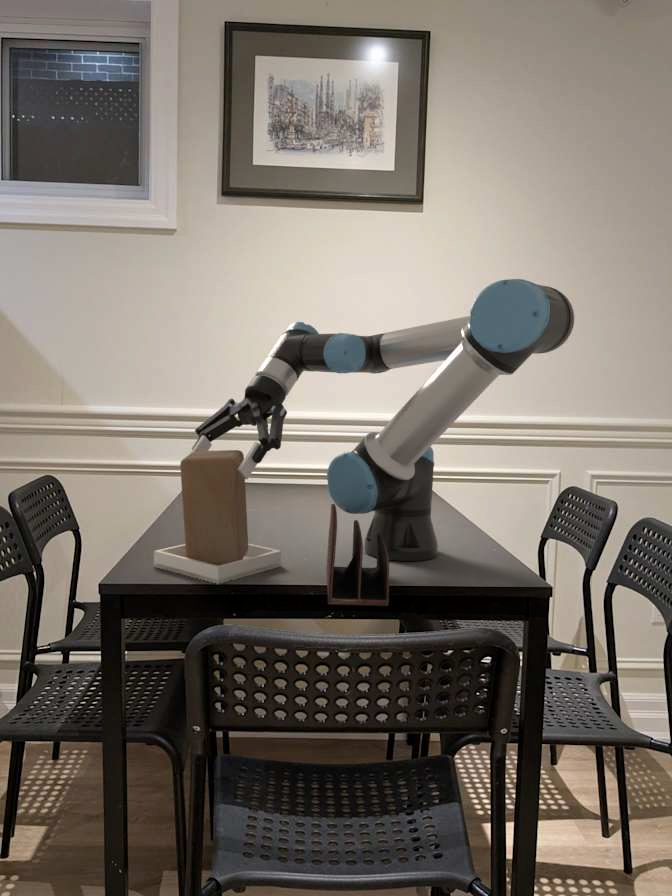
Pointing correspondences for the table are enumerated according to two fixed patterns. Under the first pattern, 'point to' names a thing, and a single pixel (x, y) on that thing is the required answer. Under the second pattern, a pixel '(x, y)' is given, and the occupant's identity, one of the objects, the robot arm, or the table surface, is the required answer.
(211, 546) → the block
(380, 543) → the letter holder
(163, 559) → the tray
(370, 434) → the robot arm
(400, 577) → the table surface
